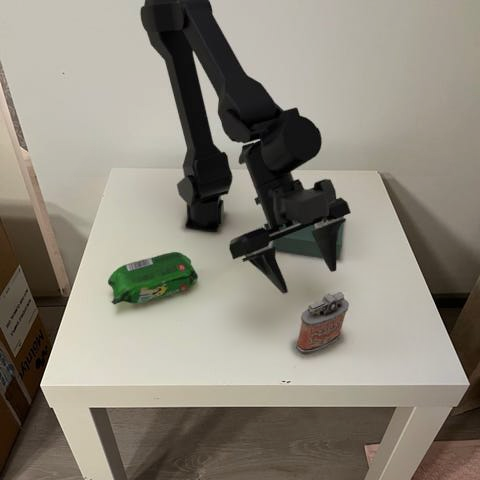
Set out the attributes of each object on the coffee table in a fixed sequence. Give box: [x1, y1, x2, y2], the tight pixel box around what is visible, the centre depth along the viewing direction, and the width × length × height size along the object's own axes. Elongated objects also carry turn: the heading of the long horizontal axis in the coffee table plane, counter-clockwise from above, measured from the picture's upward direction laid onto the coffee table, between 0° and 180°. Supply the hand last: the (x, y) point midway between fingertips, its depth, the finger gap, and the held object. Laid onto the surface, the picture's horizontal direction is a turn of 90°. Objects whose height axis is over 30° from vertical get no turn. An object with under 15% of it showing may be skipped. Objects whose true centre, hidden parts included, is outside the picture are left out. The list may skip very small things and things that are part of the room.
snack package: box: [107, 251, 199, 305], centre depth 83 cm, size 7×16×5 cm, turn 115°
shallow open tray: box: [272, 216, 345, 261], centre depth 95 cm, size 13×13×4 cm
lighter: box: [295, 291, 350, 356], centre depth 74 cm, size 8×3×10 cm, turn 120°
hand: (310, 281), depth 73 cm, fingers open, 9 cm apart
